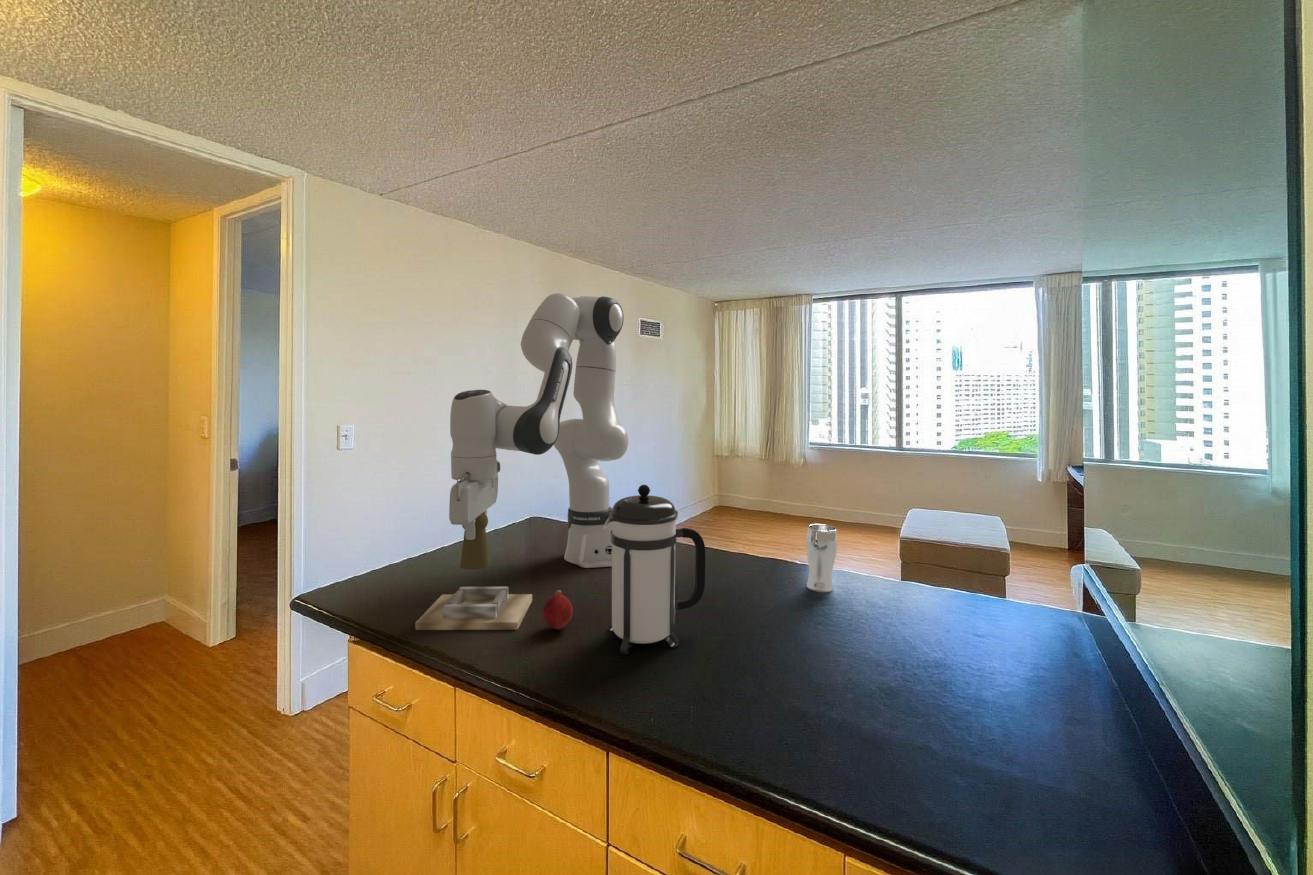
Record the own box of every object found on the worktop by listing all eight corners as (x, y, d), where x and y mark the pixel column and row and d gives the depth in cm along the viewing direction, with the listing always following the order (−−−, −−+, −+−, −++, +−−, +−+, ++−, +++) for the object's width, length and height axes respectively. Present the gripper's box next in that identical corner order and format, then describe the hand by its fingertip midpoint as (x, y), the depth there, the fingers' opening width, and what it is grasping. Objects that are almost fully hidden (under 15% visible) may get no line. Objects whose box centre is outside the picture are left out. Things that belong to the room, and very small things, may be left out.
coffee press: (660, 668, 89) (662, 497, 86) (588, 643, 98) (587, 486, 95) (705, 629, 104) (708, 481, 101) (639, 610, 112) (640, 473, 109)
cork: (495, 560, 111) (494, 510, 110) (483, 570, 105) (482, 517, 104) (468, 559, 112) (467, 509, 111) (454, 568, 106) (453, 515, 105)
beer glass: (803, 590, 124) (805, 529, 123) (806, 580, 131) (808, 522, 129) (833, 595, 122) (836, 532, 120) (835, 584, 128) (838, 525, 127)
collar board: (532, 600, 117) (531, 583, 117) (517, 629, 103) (517, 610, 103) (442, 600, 116) (441, 583, 116) (415, 630, 102) (414, 610, 102)
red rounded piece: (547, 638, 99) (547, 598, 99) (539, 626, 104) (539, 588, 104) (576, 632, 102) (576, 593, 101) (567, 620, 107) (567, 583, 106)
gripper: (473, 478, 96) (475, 550, 98) (502, 462, 117) (503, 522, 118) (439, 477, 96) (441, 550, 97) (474, 462, 117) (475, 522, 118)
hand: (475, 534), depth 108 cm, fingers closed on cork, 4 cm apart
